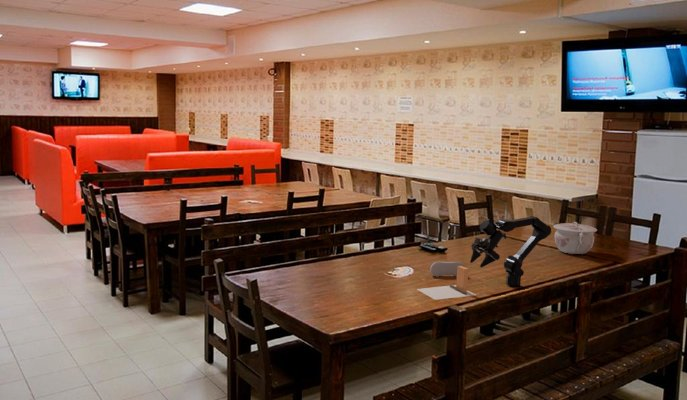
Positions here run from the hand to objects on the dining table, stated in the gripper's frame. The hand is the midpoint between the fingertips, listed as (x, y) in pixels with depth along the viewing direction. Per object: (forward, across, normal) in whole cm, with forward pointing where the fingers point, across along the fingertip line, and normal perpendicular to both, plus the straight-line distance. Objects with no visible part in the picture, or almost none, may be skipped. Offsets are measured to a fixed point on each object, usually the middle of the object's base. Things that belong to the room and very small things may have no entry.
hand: (475, 264), depth 311 cm
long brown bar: (+16, +2, -1) cm, 16 cm away
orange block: (+15, +2, +1) cm, 15 cm away
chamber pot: (-58, -54, +95) cm, 123 cm away
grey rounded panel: (+11, -25, +7) cm, 28 cm away
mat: (+21, +2, -6) cm, 22 cm away
